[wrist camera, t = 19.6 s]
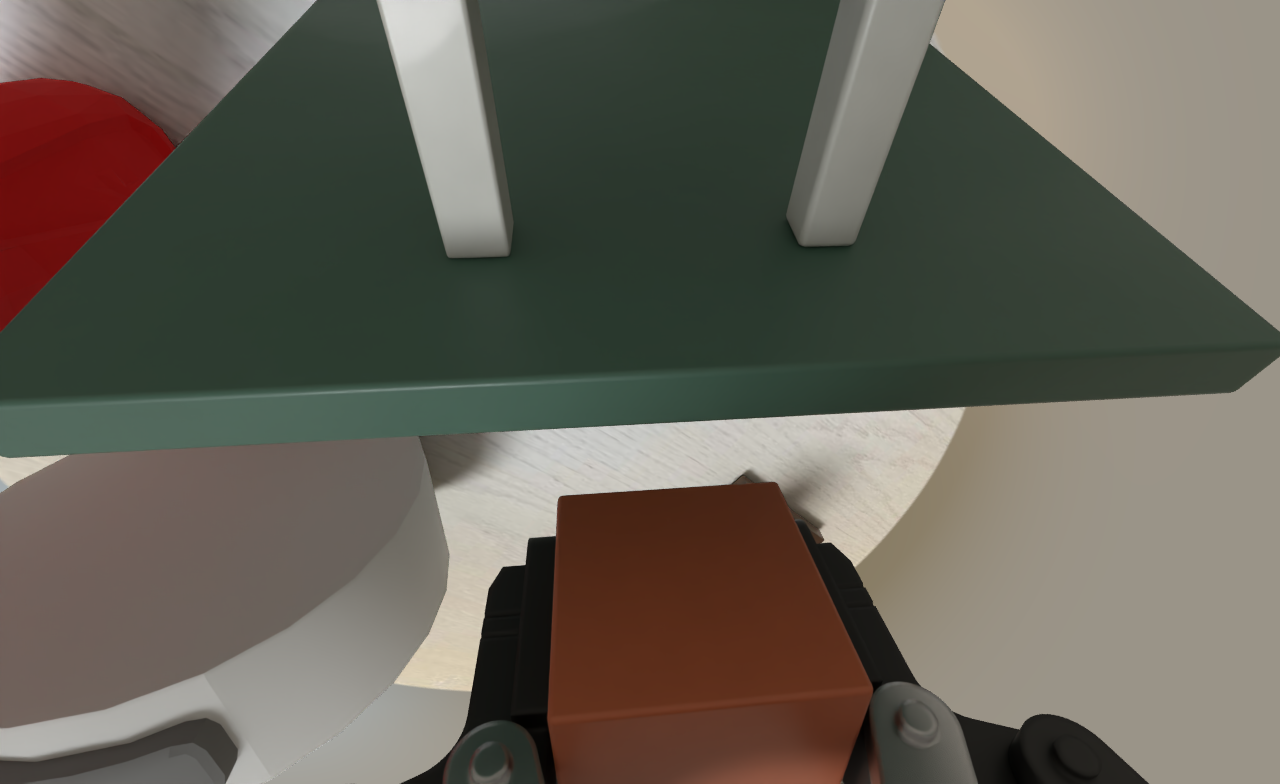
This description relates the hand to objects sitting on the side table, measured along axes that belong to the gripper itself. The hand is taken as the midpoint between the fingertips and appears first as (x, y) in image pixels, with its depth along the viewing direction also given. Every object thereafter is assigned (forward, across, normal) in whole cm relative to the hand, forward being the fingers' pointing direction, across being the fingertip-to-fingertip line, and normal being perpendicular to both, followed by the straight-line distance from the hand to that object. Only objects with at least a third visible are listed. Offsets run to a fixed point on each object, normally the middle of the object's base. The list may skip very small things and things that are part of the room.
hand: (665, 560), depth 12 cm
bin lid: (+5, 0, -9) cm, 10 cm away
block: (0, 0, 0) cm, 0 cm away
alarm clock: (+23, +21, +13) cm, 34 cm away
